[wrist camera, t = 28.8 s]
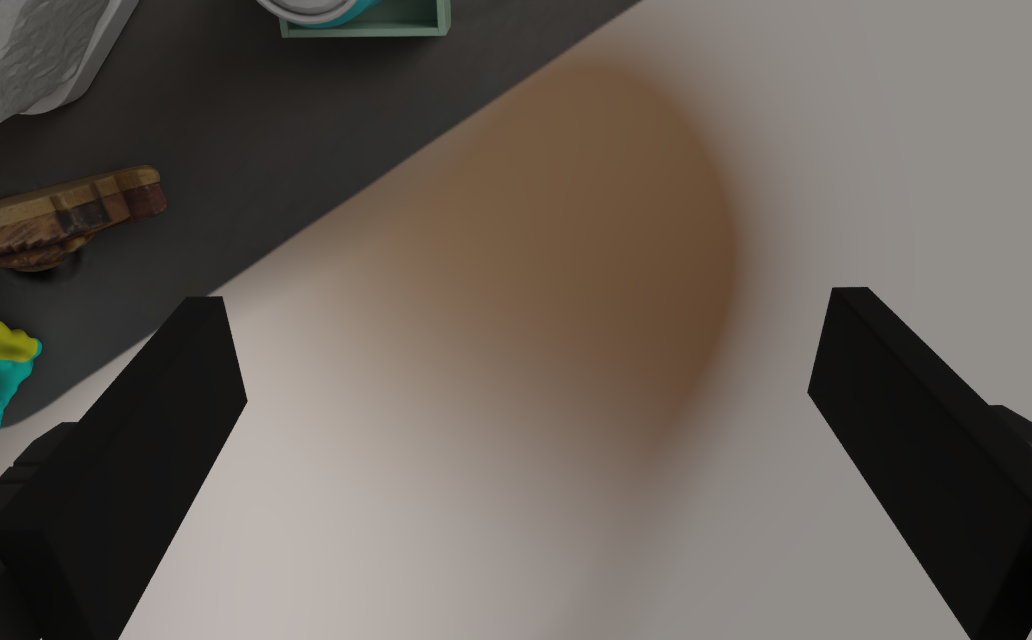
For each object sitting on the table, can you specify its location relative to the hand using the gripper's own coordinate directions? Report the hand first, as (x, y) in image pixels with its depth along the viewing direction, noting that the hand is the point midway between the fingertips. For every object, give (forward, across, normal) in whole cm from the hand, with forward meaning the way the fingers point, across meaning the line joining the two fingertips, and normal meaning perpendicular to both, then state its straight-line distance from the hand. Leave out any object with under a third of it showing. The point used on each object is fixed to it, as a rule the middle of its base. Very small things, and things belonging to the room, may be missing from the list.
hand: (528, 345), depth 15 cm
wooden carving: (+32, -28, -7) cm, 43 cm away
